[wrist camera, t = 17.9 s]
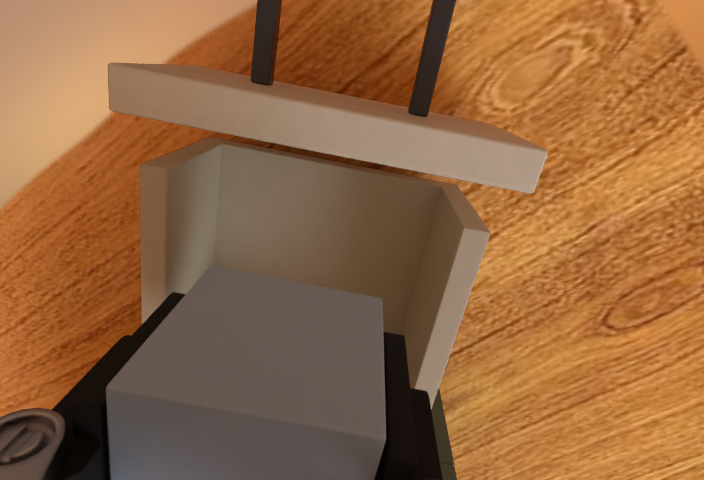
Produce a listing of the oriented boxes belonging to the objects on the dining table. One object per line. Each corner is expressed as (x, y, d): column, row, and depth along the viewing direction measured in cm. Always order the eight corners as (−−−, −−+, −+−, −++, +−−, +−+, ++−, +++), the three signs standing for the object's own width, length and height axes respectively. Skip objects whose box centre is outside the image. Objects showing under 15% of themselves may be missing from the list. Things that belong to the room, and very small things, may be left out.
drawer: (207, -180, 13) (90, -354, 8) (561, -106, 13) (687, -225, 8) (186, 353, 21) (120, 450, 16) (409, 395, 21) (420, 505, 16)
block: (210, 264, 11) (103, 387, 6) (383, 297, 11) (386, 439, 7) (201, 399, 12) (112, 566, 8) (350, 427, 12) (338, 605, 8)
